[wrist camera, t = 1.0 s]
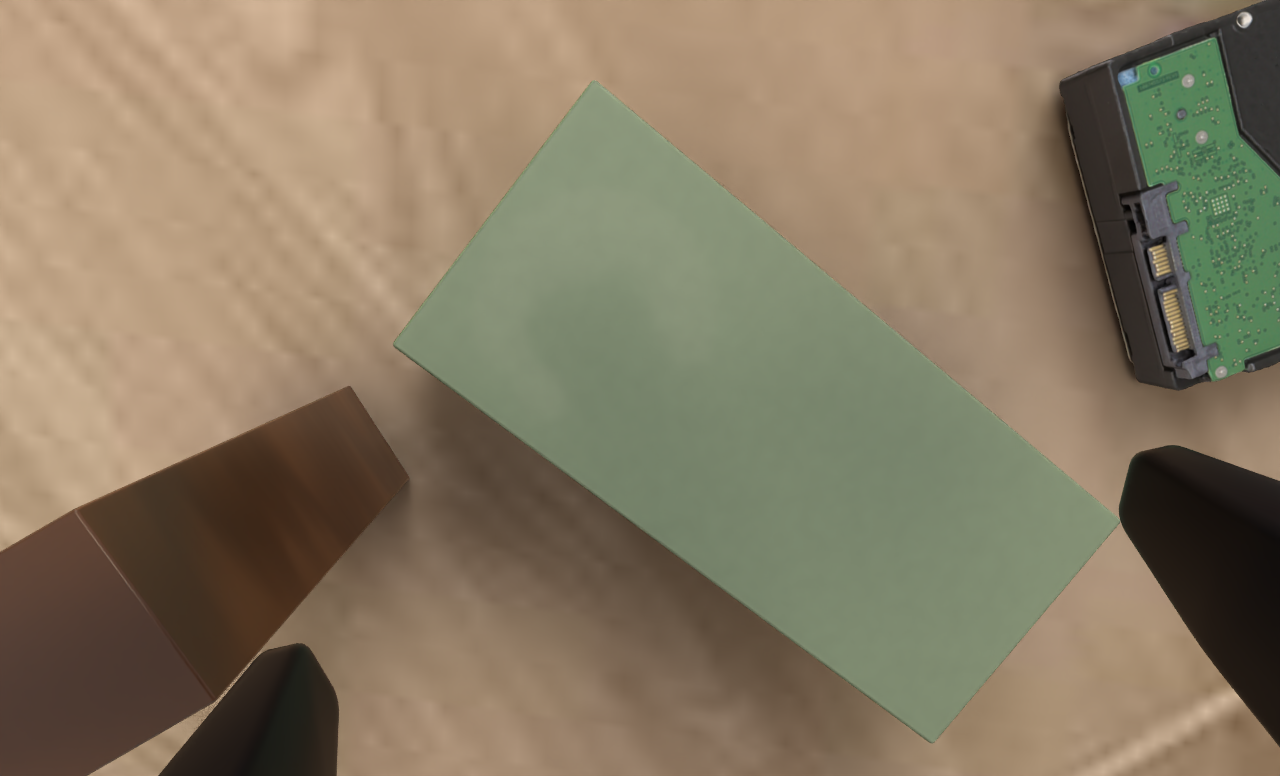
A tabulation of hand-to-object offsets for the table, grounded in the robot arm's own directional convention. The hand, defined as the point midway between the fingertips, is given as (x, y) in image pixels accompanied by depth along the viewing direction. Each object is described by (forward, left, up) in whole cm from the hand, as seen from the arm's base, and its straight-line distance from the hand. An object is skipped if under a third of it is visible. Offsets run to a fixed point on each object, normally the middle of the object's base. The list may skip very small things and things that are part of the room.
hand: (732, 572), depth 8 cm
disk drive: (+19, -13, -16) cm, 28 cm away
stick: (-8, +6, -16) cm, 19 cm away
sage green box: (+1, -3, -16) cm, 17 cm away
